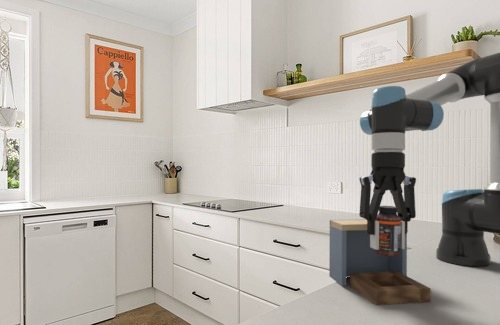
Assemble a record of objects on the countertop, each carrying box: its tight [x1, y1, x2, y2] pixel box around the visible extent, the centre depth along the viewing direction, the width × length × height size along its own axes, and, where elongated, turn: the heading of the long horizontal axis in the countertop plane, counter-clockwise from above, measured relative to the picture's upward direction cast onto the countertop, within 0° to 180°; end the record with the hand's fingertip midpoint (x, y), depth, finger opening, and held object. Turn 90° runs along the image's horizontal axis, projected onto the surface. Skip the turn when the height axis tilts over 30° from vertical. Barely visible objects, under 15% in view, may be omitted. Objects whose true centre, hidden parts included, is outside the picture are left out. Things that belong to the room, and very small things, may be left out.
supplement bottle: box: [374, 205, 401, 256], centre depth 83 cm, size 6×6×11 cm
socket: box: [349, 271, 431, 306], centre depth 83 cm, size 13×13×3 cm
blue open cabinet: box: [328, 218, 408, 287], centre depth 93 cm, size 18×8×16 cm, turn 99°
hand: (387, 247), depth 83 cm, fingers closed on supplement bottle, 6 cm apart
